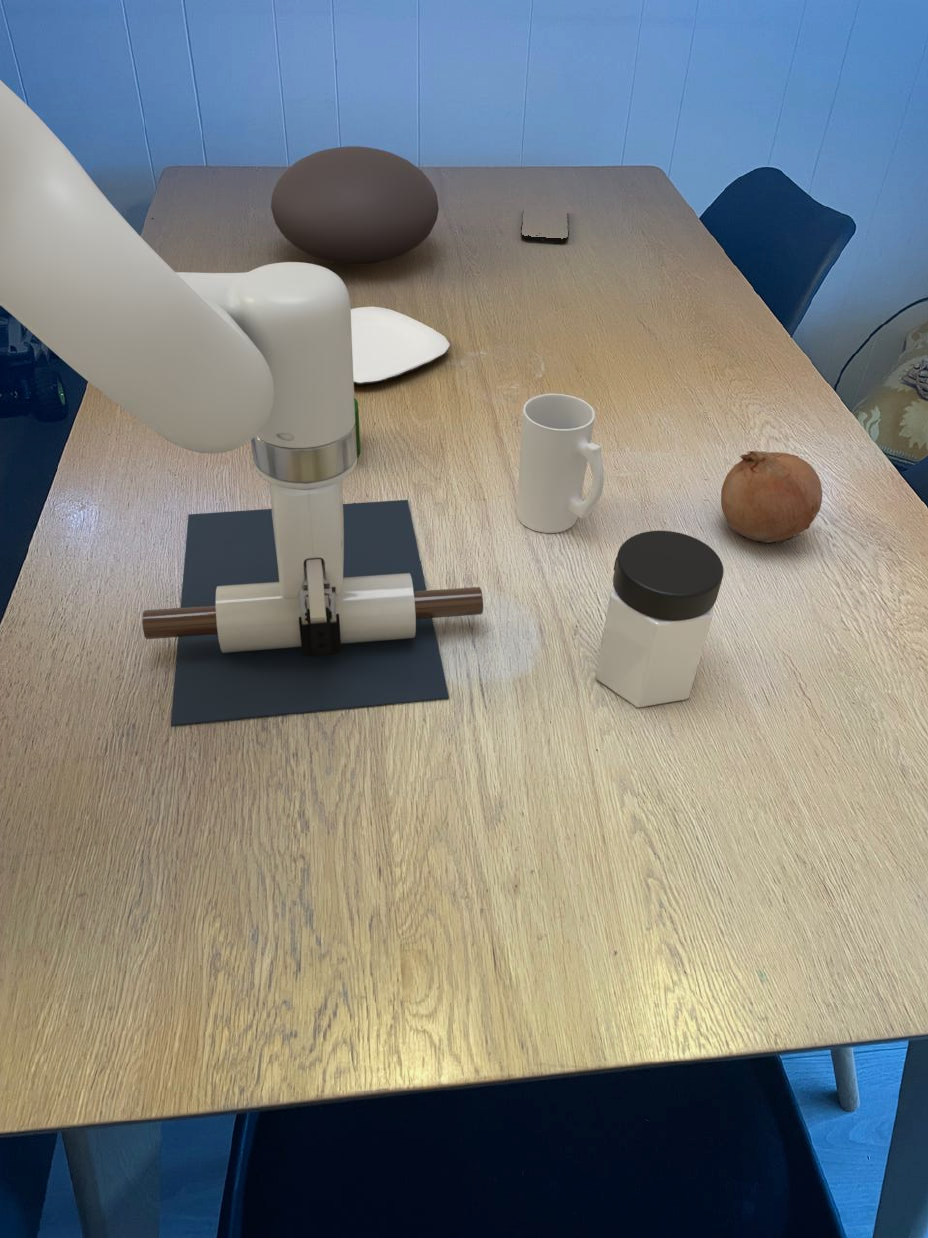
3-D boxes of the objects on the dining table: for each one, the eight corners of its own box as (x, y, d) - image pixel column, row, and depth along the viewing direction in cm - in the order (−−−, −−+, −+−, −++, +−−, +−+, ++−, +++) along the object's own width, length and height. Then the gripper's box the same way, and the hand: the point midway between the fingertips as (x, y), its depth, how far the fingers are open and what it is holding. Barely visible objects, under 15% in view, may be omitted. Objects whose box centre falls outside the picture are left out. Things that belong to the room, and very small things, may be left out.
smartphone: (569, 206, 161) (569, 238, 150) (568, 212, 161) (568, 244, 150) (523, 203, 161) (520, 234, 150) (523, 209, 162) (519, 240, 151)
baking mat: (449, 699, 76) (449, 697, 76) (171, 726, 73) (170, 724, 73) (407, 501, 96) (407, 499, 96) (188, 515, 93) (188, 514, 93)
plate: (466, 356, 121) (466, 343, 120) (358, 402, 111) (357, 389, 110) (374, 310, 130) (374, 298, 129) (268, 349, 120) (266, 336, 119)
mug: (500, 510, 96) (508, 405, 88) (549, 489, 99) (561, 386, 91) (565, 560, 90) (580, 454, 82) (615, 536, 93) (635, 431, 85)
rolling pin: (473, 602, 84) (477, 554, 81) (484, 646, 81) (488, 598, 77) (154, 625, 80) (141, 576, 76) (148, 673, 76) (135, 624, 73)
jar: (673, 631, 83) (701, 522, 75) (713, 697, 77) (748, 586, 69) (578, 646, 81) (596, 536, 73) (612, 714, 75) (635, 603, 67)
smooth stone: (250, 242, 146) (237, 139, 136) (388, 217, 157) (387, 119, 147) (320, 301, 131) (312, 190, 121) (468, 268, 142) (472, 163, 132)
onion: (715, 551, 97) (689, 469, 92) (779, 503, 99) (757, 420, 94) (785, 574, 89) (760, 486, 84) (852, 522, 91) (832, 432, 86)
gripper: (252, 388, 73) (274, 567, 85) (250, 516, 61) (277, 704, 73) (348, 384, 74) (356, 561, 86) (366, 509, 62) (372, 696, 74)
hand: (320, 625), depth 80 cm, fingers closed on rolling pin, 5 cm apart
